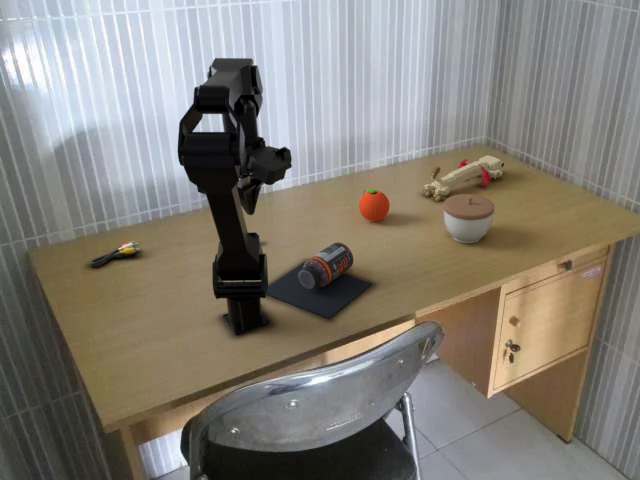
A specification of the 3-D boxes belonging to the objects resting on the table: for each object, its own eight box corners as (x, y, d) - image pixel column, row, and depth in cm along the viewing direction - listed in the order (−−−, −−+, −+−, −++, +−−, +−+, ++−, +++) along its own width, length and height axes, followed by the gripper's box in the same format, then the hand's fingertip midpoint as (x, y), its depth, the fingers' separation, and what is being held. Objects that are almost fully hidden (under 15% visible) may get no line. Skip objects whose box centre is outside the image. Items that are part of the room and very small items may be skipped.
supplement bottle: (355, 272, 134) (319, 298, 126) (331, 264, 137) (295, 289, 129) (354, 245, 131) (317, 271, 123) (329, 237, 133) (292, 262, 125)
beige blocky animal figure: (445, 209, 162) (514, 175, 175) (445, 176, 157) (516, 143, 170) (417, 196, 168) (485, 163, 181) (416, 163, 163) (486, 132, 176)
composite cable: (92, 269, 134) (89, 258, 132) (86, 258, 137) (83, 247, 136) (142, 256, 138) (140, 245, 137) (136, 246, 142) (133, 235, 140)
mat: (307, 261, 138) (307, 260, 138) (372, 284, 131) (372, 283, 131) (260, 292, 128) (260, 291, 128) (328, 319, 121) (328, 317, 121)
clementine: (350, 216, 155) (349, 187, 151) (375, 208, 159) (374, 180, 155) (370, 229, 150) (370, 200, 146) (395, 221, 154) (396, 192, 150)
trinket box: (433, 241, 146) (435, 201, 141) (454, 221, 154) (456, 183, 149) (480, 253, 142) (483, 212, 137) (498, 232, 150) (502, 193, 145)
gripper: (238, 159, 108) (248, 246, 116) (311, 127, 121) (315, 206, 129) (188, 145, 112) (201, 229, 121) (263, 115, 126) (271, 192, 134)
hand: (250, 214), depth 126 cm, fingers closed
